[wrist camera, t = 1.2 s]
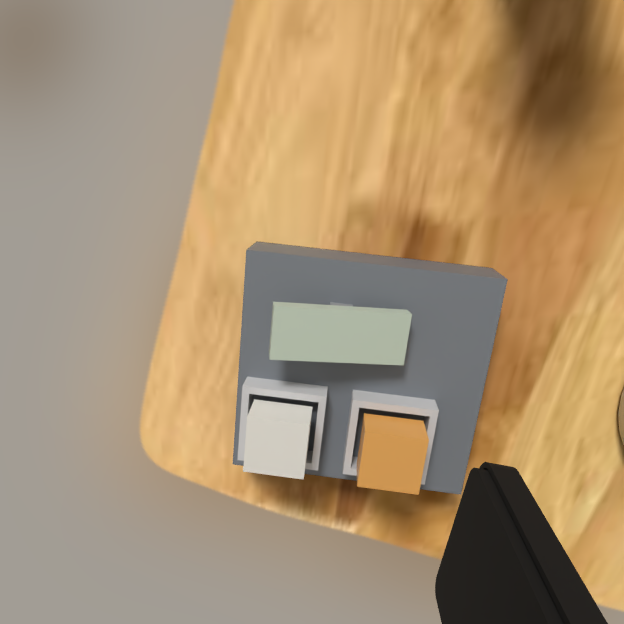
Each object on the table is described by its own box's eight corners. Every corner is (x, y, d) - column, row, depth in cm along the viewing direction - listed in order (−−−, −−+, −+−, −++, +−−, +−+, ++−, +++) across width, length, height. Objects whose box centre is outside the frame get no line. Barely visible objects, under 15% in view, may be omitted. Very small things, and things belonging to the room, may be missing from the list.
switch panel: (491, 268, 29) (515, 285, 24) (451, 465, 32) (465, 508, 28) (256, 241, 29) (241, 253, 25) (243, 438, 33) (227, 477, 29)
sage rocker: (407, 309, 26) (412, 314, 25) (399, 359, 27) (403, 365, 26) (272, 301, 25) (274, 306, 24) (268, 353, 26) (269, 359, 25)
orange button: (423, 420, 27) (429, 440, 25) (414, 472, 28) (418, 494, 26) (363, 413, 27) (364, 432, 25) (356, 464, 28) (357, 486, 26)
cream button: (312, 406, 27) (309, 424, 25) (306, 458, 28) (303, 479, 26) (254, 399, 27) (246, 416, 25) (250, 450, 28) (243, 471, 26)
